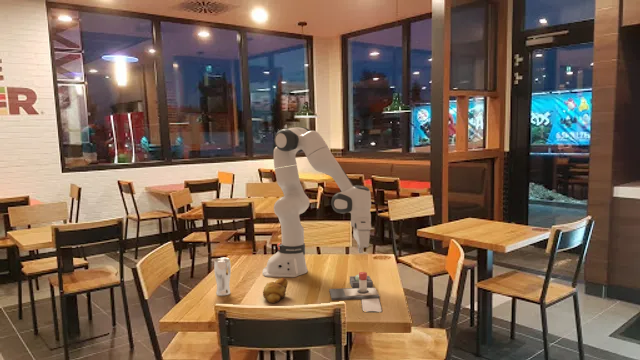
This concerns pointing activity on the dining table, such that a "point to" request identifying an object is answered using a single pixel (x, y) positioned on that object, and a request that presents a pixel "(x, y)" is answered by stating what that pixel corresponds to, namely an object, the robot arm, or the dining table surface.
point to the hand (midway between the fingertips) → (360, 252)
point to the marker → (362, 282)
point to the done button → (356, 278)
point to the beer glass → (222, 276)
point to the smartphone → (371, 305)
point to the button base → (356, 284)
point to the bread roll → (275, 290)
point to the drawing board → (353, 293)
